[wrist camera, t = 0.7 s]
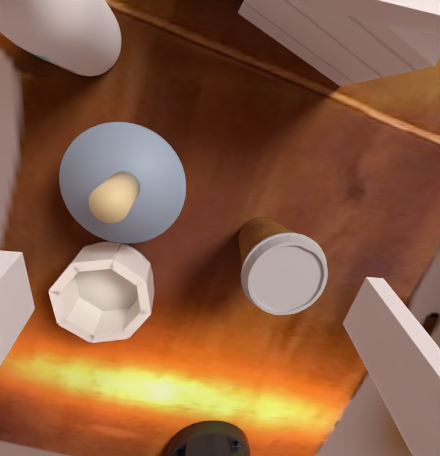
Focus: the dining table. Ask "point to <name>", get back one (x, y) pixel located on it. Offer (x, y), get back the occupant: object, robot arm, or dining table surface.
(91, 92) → the dining table surface
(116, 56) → the milk bottle
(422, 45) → the pizza boxes
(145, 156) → the lid
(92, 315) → the bowl
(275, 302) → the disposable coffee cup
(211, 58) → the dining table surface
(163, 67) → the dining table surface
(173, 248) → the dining table surface
